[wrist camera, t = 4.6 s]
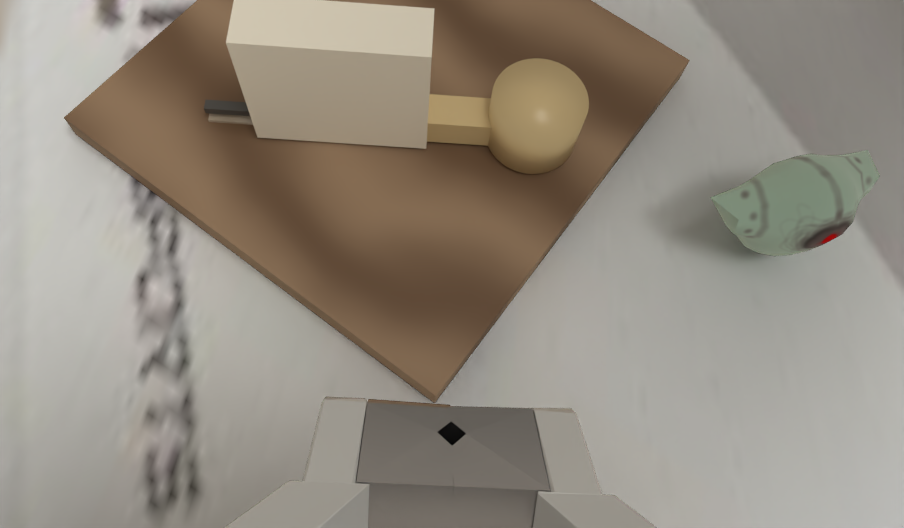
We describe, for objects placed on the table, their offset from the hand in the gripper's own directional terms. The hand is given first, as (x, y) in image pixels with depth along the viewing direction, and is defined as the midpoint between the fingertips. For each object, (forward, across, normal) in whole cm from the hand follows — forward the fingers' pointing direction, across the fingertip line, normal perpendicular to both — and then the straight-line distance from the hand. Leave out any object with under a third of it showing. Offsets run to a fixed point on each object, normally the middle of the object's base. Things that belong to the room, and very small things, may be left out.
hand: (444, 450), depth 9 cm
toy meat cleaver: (+29, +2, +2) cm, 29 cm away
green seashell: (+27, -16, +7) cm, 32 cm away
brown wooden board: (+32, +2, +2) cm, 32 cm away
